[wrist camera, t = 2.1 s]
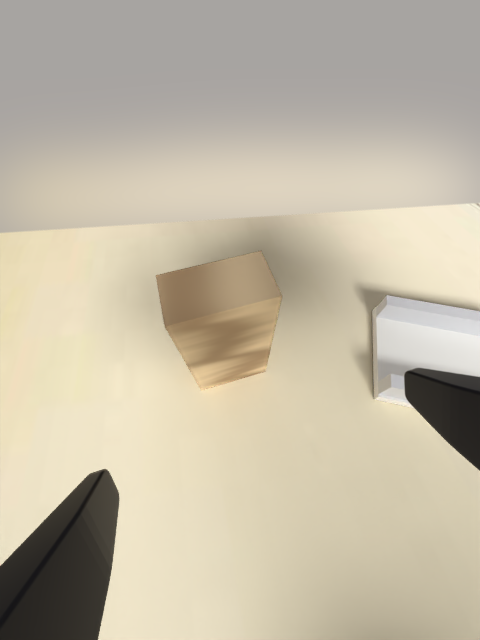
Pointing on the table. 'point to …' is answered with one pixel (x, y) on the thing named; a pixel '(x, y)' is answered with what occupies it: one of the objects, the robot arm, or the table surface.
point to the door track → (421, 343)
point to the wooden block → (222, 317)
